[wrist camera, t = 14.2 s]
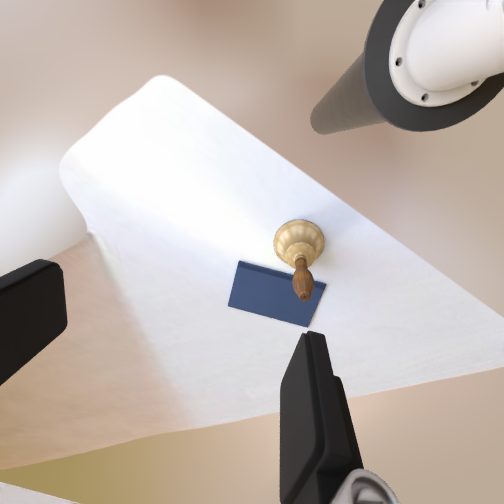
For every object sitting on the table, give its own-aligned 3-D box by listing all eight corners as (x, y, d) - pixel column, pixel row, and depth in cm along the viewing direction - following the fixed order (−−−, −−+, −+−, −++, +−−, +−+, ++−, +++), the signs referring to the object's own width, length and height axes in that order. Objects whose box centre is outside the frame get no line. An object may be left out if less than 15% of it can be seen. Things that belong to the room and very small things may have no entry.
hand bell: (303, 273, 44) (313, 338, 29) (264, 248, 43) (254, 302, 28) (334, 237, 41) (363, 289, 26) (293, 209, 40) (299, 247, 25)
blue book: (238, 260, 44) (238, 261, 44) (325, 283, 44) (326, 285, 44) (228, 305, 48) (227, 306, 48) (307, 326, 48) (307, 327, 48)
